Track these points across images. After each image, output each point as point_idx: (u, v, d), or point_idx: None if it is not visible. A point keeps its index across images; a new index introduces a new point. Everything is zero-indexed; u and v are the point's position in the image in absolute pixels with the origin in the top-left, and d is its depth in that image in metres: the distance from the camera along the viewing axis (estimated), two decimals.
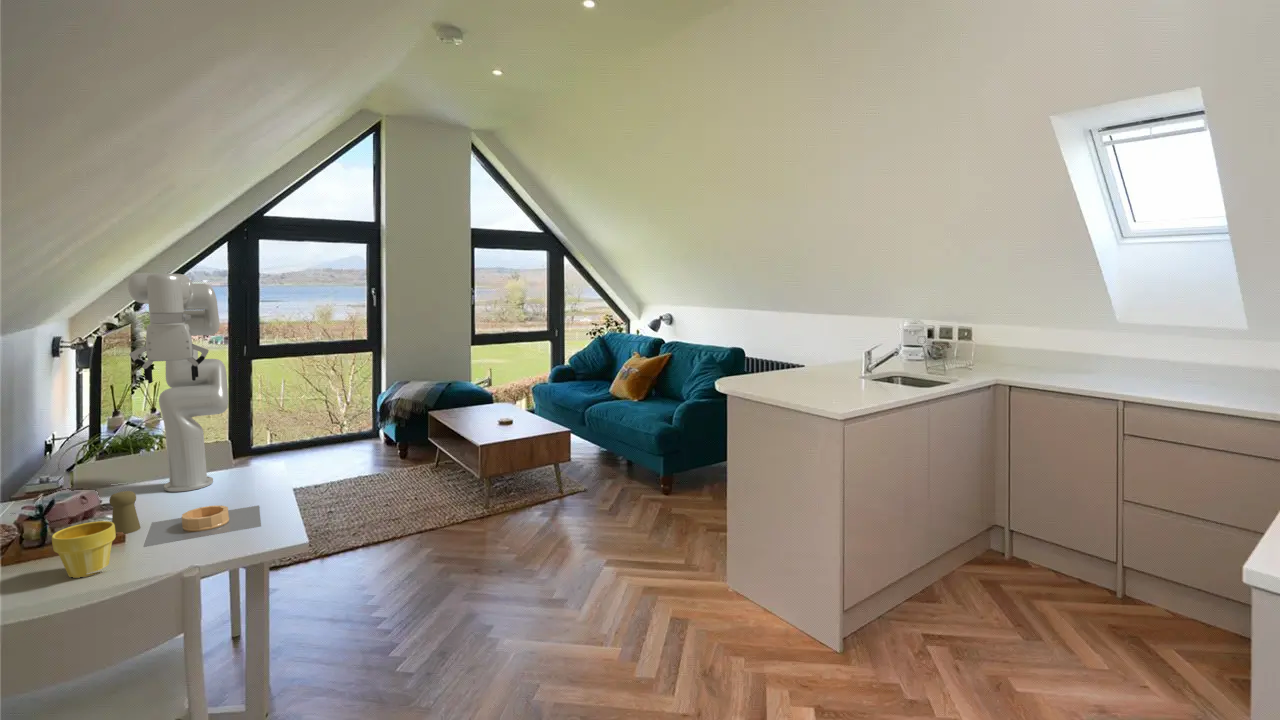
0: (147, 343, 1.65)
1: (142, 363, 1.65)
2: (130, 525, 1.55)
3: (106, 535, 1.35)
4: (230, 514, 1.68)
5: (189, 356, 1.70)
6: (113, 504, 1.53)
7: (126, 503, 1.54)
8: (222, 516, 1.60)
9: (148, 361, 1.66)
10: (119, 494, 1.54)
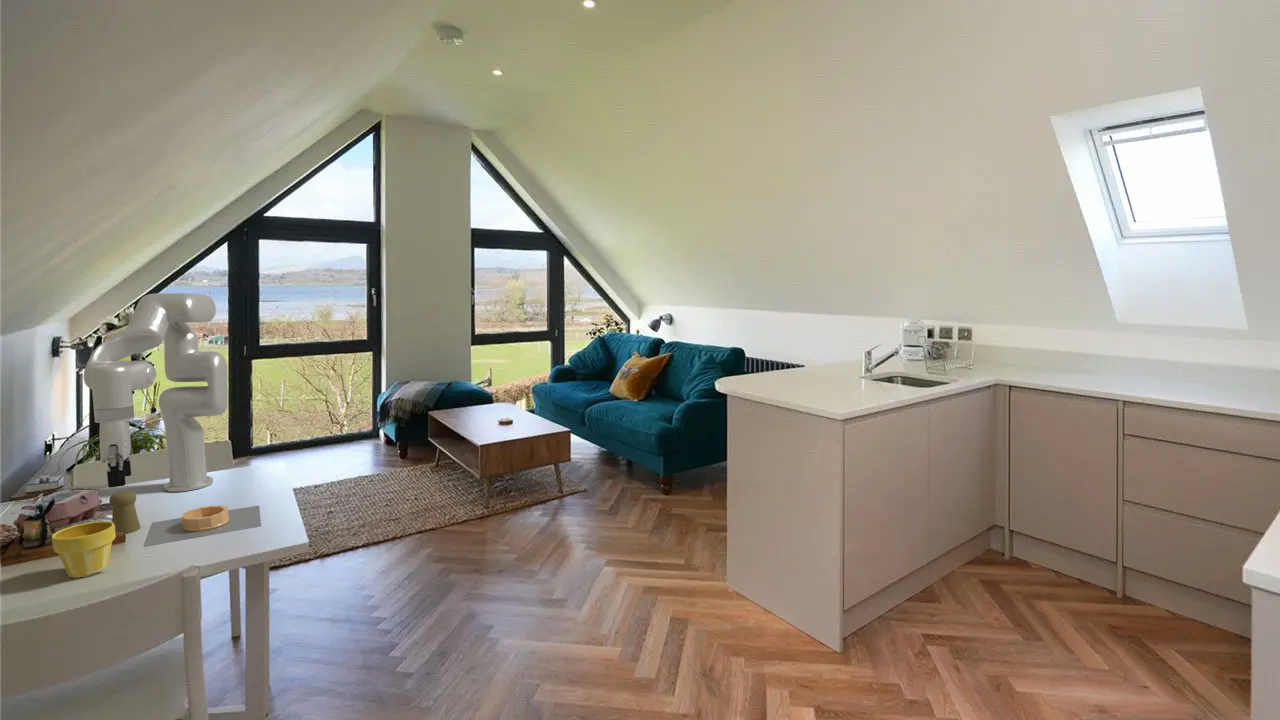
0: (123, 441, 1.51)
1: (118, 465, 1.49)
2: (130, 525, 1.55)
3: (106, 535, 1.35)
4: (230, 514, 1.68)
5: (130, 450, 1.59)
6: (113, 504, 1.53)
7: (126, 503, 1.54)
8: (222, 516, 1.60)
9: (122, 461, 1.51)
10: (119, 494, 1.54)
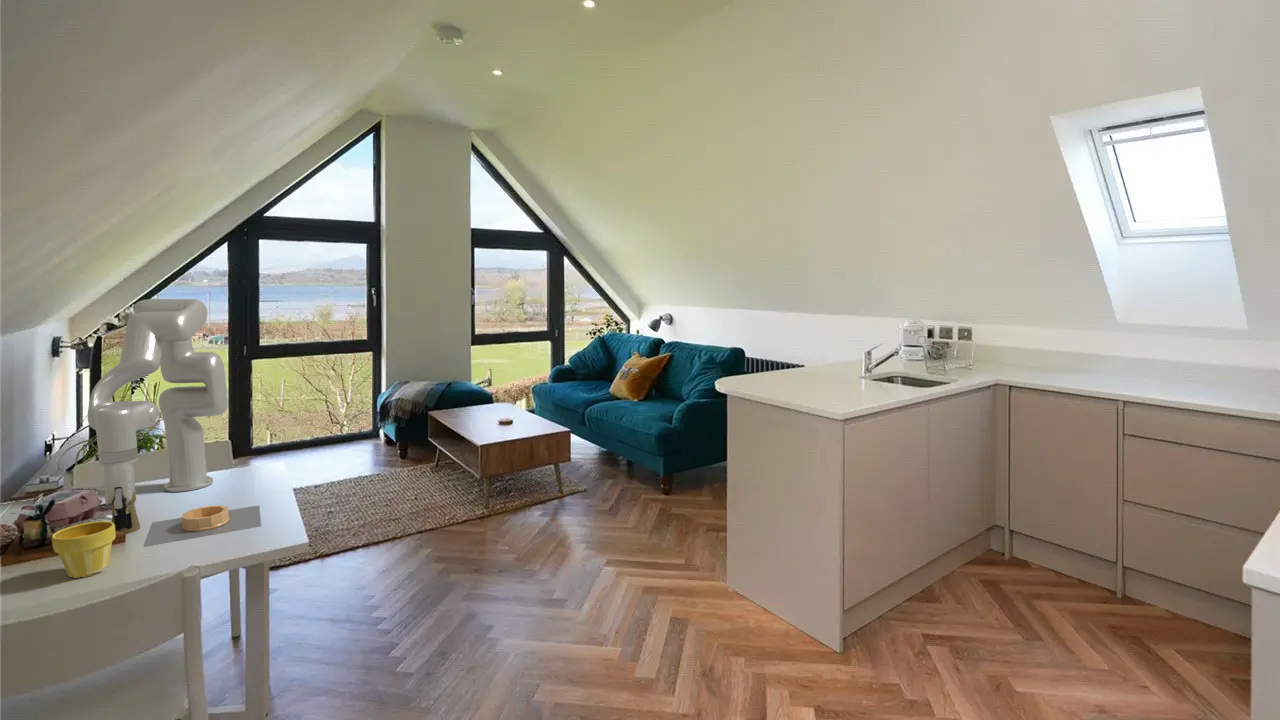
0: (128, 483, 1.52)
1: (125, 510, 1.53)
2: None
3: (106, 535, 1.35)
4: (230, 514, 1.68)
5: None
6: (113, 504, 1.53)
7: None
8: (222, 516, 1.60)
9: (128, 505, 1.54)
10: None
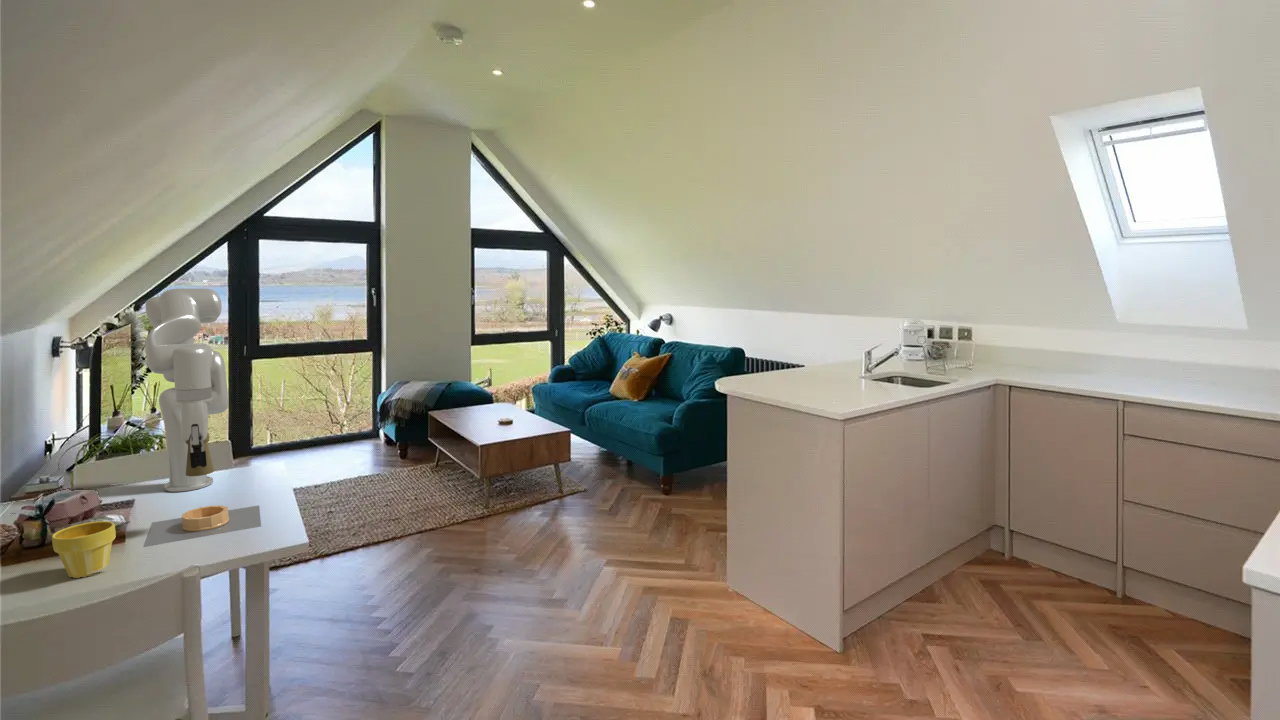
0: (204, 421, 1.55)
1: (200, 448, 1.55)
2: None
3: (106, 535, 1.35)
4: (230, 514, 1.68)
5: None
6: (189, 442, 1.56)
7: None
8: (222, 516, 1.60)
9: (203, 443, 1.56)
10: None
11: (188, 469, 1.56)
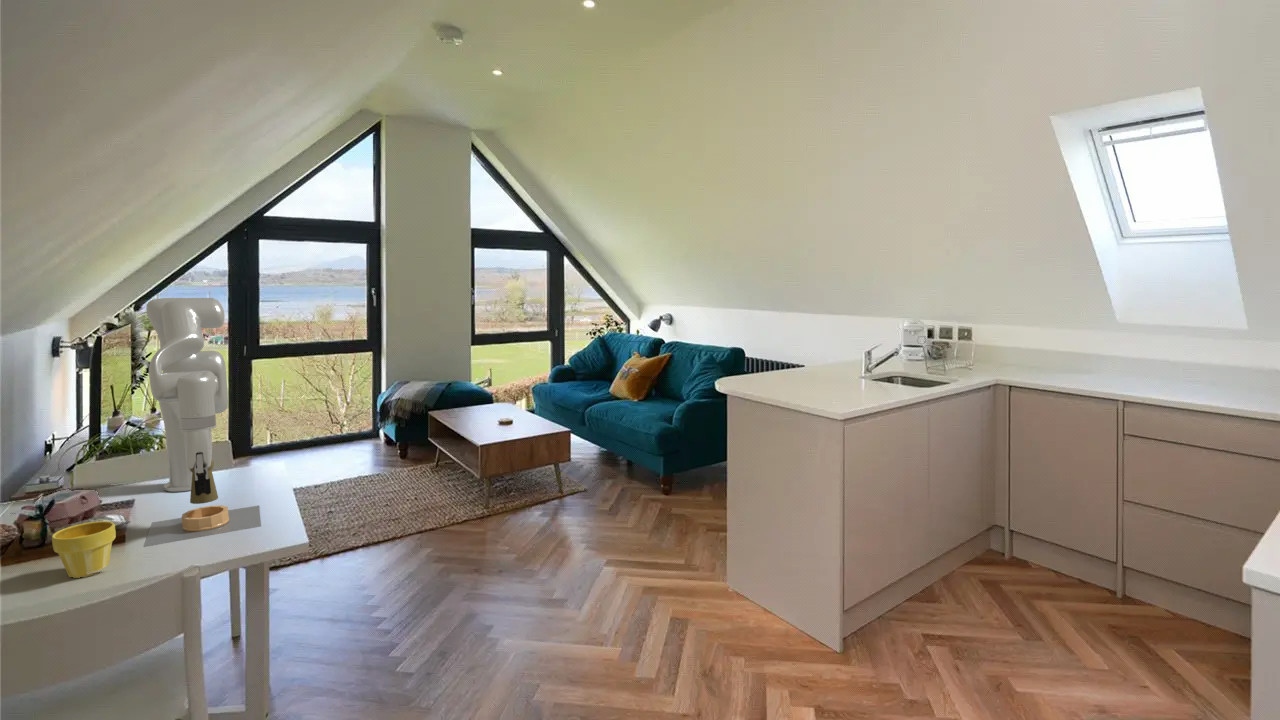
0: (208, 449, 1.56)
1: (205, 476, 1.56)
2: None
3: (106, 535, 1.35)
4: (230, 514, 1.68)
5: None
6: (193, 469, 1.57)
7: None
8: (222, 516, 1.60)
9: (207, 470, 1.57)
10: None
11: (192, 497, 1.57)
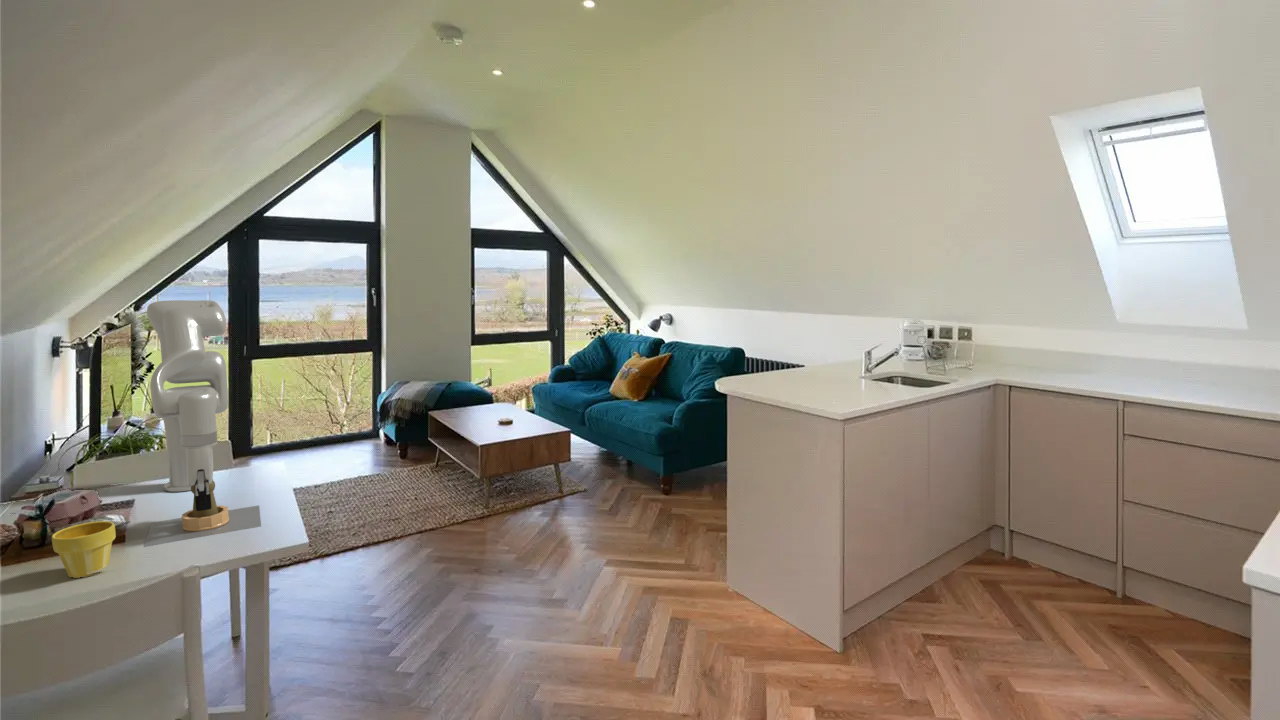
0: (209, 466, 1.56)
1: (205, 490, 1.55)
2: (210, 512, 1.60)
3: (106, 535, 1.35)
4: (230, 514, 1.68)
5: None
6: (195, 491, 1.58)
7: None
8: (222, 516, 1.60)
9: (208, 486, 1.56)
10: None
11: None
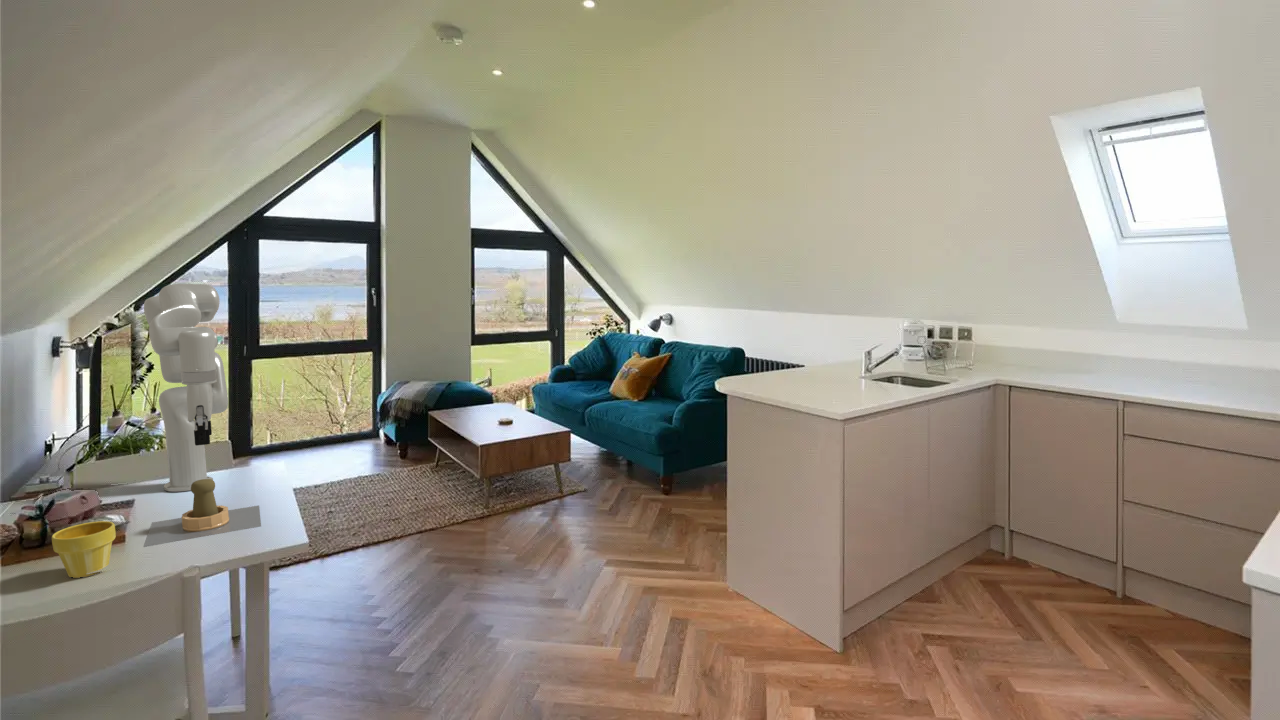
0: (208, 402, 1.60)
1: (204, 425, 1.59)
2: (210, 512, 1.60)
3: (106, 535, 1.35)
4: (230, 514, 1.68)
5: None
6: (195, 491, 1.58)
7: (207, 490, 1.59)
8: (222, 516, 1.60)
9: (207, 421, 1.60)
10: (200, 482, 1.59)
11: None
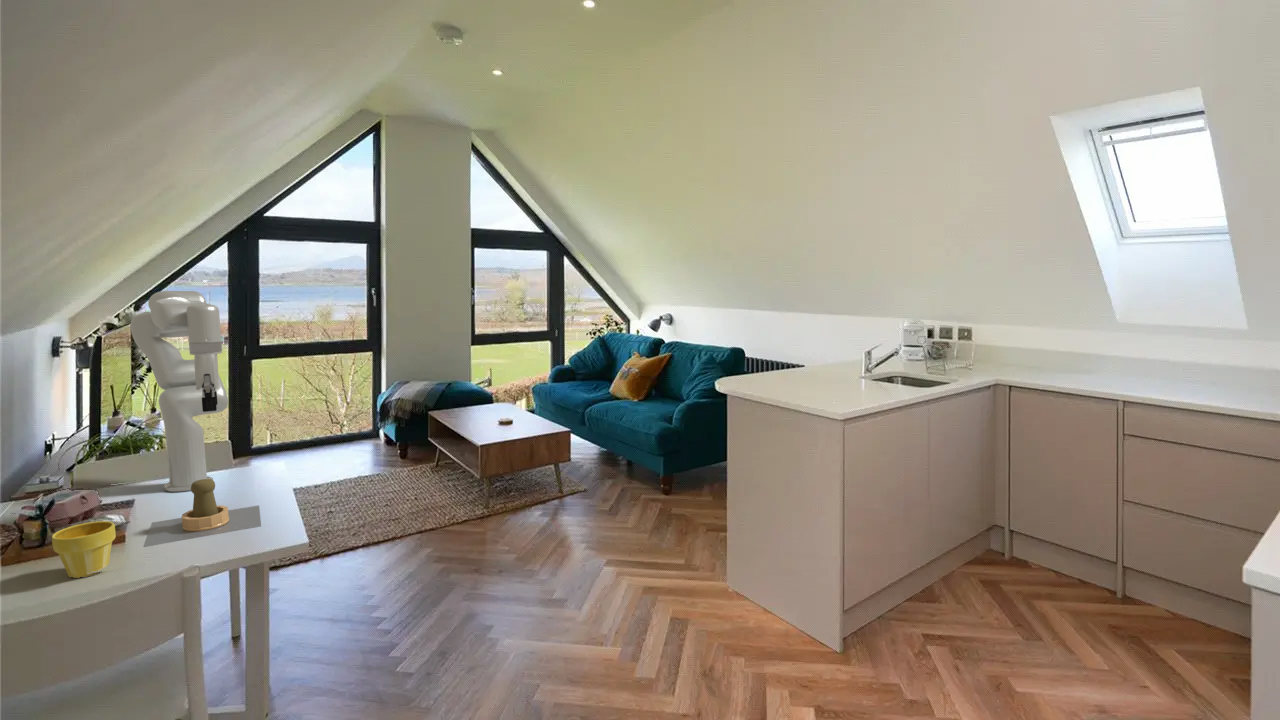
0: (215, 371, 1.71)
1: (211, 392, 1.70)
2: (210, 512, 1.60)
3: (106, 535, 1.35)
4: (230, 514, 1.68)
5: None
6: (195, 491, 1.58)
7: (207, 490, 1.59)
8: (222, 516, 1.60)
9: (214, 389, 1.71)
10: (200, 482, 1.59)
11: None
